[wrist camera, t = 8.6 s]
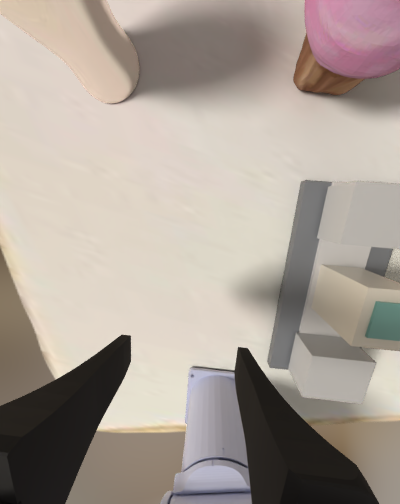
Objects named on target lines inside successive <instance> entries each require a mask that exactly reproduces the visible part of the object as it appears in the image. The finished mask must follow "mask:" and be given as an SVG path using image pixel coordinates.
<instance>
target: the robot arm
mask: <svg viewBox="0 0 400 504" xmlns="http://www.w3.org/2000/svg"><path fill="white" fill-rule="evenodd" d="M130 362H131V336H129V335H121V336H119V337H118V338H117V339H115V340H114V341H113V342H112V343H110V344H109V345H108V346H106V347H105V348H104V349H102V350H101V351H100V352H98V353H97V354H96V355H94V356H93V357H91V358H90V359H88V360H87V361H85V362H84V363H82V364H81V365H80V366H78V367H76V368H75V369H73V370H72V371H70V372H68V373H67V374H65V375H63V376H62V377H60V378H58V379H56V380H54V381H53V382H51V383H49V384H47V385H45V386H43V387H41V388H39V389H37V390H35V391H33V392H31V393H29V394H27V395H25V396H22V397H20V398H18V399H16V400H13V401H11V402H9V403H6V404H4V405H1V406H0V504H65V502H66V500H67V498H68V495H69V493H70V491H71V488H72V486H73V483H74V481H75V478H76V476H77V473H78V471H79V469H80V466H81V464H82V462H83V460H84V457H85V455H86V453H87V450H88V448H89V446H90V443H91V441H92V439H93V437H94V434H95V432H96V430H97V428H98V426H99V424H100V422H101V420H102V418H103V416H104V414H105V412H106V410H107V408H108V407H109V405H110V403H111V401H112V399H113V397H114V396H115V394H116V392H117V390H118V388H119V386H120V385H121V383H122V381H123V379H124V377H125V375H126V372H127V370H128V367H129V365H130ZM191 374H193V375H191ZM185 423H186V424H187V427H186V436H185V445H184V454H183V463H182V472H181V473H176V475H175V481H174V489H173V491H168V492H166V493H165V495H164V497H163V499H162V501H161V503H160V504H379V502H378V501H377V499H376V497H375V495H374V494H373V492H372V490H371V488H370V486H369V485H368V483H367V481H366V480H365V478H364V476H363V475H362V473H361V472H360V470H359V469H358V467H357V465H356V464H354V463H353V462H352V461H350V460H349V459H348V458H347V457H345V456H344V455H343V454H342V453H340V452H339V451H338V450H337V449H336V448H334V447H333V446H332V445H331V444H329V443H328V442H327V441H326V440H325V439H324V438H323V437H322V436H320V435H319V434H318V433H317V432H316V431H315V430H314V429H313V428H312V427H311V426H309V425H308V424H307V423H306V422H305V421H304V420H303V419H302V418H301V417H300V416H299V415H298V414H297V413H296V412H295V411H294V410H293V408H292V407H291V406H290V405H289V404H288V403H287V402H286V401H285V400H284V398H283V397H282V396H281V395H280V394H279V392H278V391H277V390H276V389H275V387H274V386H273V385H272V384H271V382H270V381H269V380H268V378H267V377H266V375H265V374H264V372H263V371H262V370H261V368H260V367H259V365H258V364H257V362H256V361H255V359H254V357H253V356H252V354H251V353H250V351H249V350H248V348H241V347H238V351H237V358H236V365H235V372H229V371H220V370H211V369H202V368H194V367H193V368H190V369H189V378H188V391H187V404H186V417H185Z"/></svg>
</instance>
